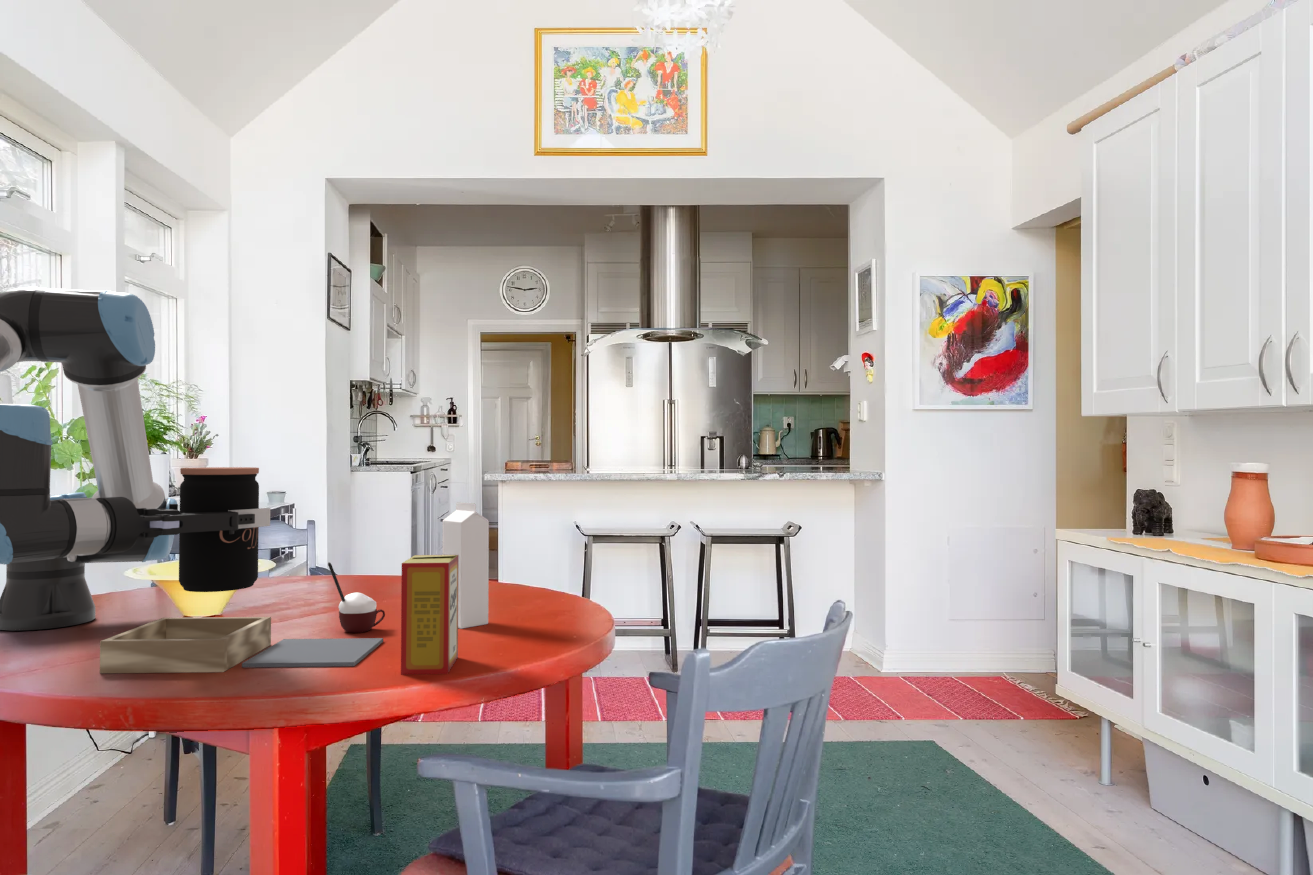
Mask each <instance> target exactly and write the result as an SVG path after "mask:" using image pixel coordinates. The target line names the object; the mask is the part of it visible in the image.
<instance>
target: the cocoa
mask: <svg viewBox="0 0 1313 875" xmlns="http://www.w3.org/2000/svg"><path fill="white" fill-rule="evenodd" d="M327 566H328V569H329V572H330V573H331V576H332V578H333V581H334V584H335V587H336V589H337V592H338V594H339V597H340V599H341V601H340V602H339V604H338V610H339V611H338V618H339V623H340V626H341V627H342V629H343V630H344V631H345V632H346V633H349V634H361V633H366V632H368V631H370V630H371V629H372V628H374V627H376V626H377V625H379V624H380V623H381V622H382V621H383V620H384V619H385V616H386V613H385V610H384V609H378V610H377V601H376V600H374V599H373V598H372V597H371V596H370V597H369V596H368V595H366V594H364V593H362V592H351V593H349V594H346V595H345V596H344V593H343V591H342V589H341V588H342V587H341V586H340V583H339V580H338V578H337V576H336V575H337V574H336V572H335V569H334V568H333V564H332V563H331V562H329V561H328V563H327ZM378 613H382V615H381V618H379V619H378V620H377V615H378Z"/></svg>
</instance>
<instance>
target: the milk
mask: <svg viewBox="0 0 1313 875" xmlns="http://www.w3.org/2000/svg"><path fill="white" fill-rule="evenodd" d="M455 504H456V505H455V511H452V513H451V514H448V516H446V517H445V518H443V519H442V554H441V555H459V562H458V629H467V628H473V627H477V626H483V625H484V626H485V625H488V624H489V573H490V572H489V567H490V566H489V562H490V560H489V555H490V553H489V552H490V548H489V546H490V545H489V544H490V543H489V542H490V534H489V532H490V526H489V525H490V522H489V519H488V518H486V517H485V516H483V515H482V514H480V513H479V512H478V511H477V510H476V508H477V505H476V503H473V502H461V501H457V502H456V503H455Z"/></svg>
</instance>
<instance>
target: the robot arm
mask: <svg viewBox="0 0 1313 875" xmlns="http://www.w3.org/2000/svg"><path fill="white" fill-rule="evenodd" d="M154 329H155V328H154V324H153V320H152V316H151V314H150V312H149V309H148V308H147V305H146V304H145V303H144V301H143V300H142V299H141V298H139V296H137V295H135V294H133V293H128V292H119V291H118V292H117V291H114V290H109V289H104V290H91V289H90V290H86V289H72V288H70V289H68V288H67V289H66V288H49V287H40V286H39V287H38V286H28V287H26V286H25V287H17V288H13V289H12V288H11V289H8V290H5V291H1V292H0V372H4V371H6V370H8V369H10V368H12V367H14V365H16V364H17V363H22V362H41V363H61V365H62V371H63V375H64V376H65V377H66V378H67V379H68V380H69V382H71V383H74V384H77V389H78V395H79V399H80V404H81V409H82V415H83V419H84V420H83V421H84V423H85V424H84V425H85V428H86V429H85V431H86V435H87V439H88V445H89V449H90V454H91V455H90V456H91V459H92V465H93V470H94V471H93V472H94V475H95V480H96V485H97V490H96V491H95V492H94V494H93V495H92V496H91V497H88V496H87V494H86V493H85V492H84V491H81V492H80V491H79V492H72V493H71V492H70V493H63V494H62V493H61V494H56V495H55V494H54V495H51V465H52V464H51V463H52V462H51V461H52V460H51V459H52V446H53V443H54V442H53V440H52V433H51V418H50V417H51V415H50V412H49V410H48V409H47V408H45V407H43V406H41V405H34V404H20V403H18V404H16V403H0V565H6V579H5V580H6V581H5V586H4V587H3V590H2V592H1V595H0V631H13V632H14V631H36V630H38V631H39V630H49V629H57V628H65V627H71V626H75V625H80V624H85V623H88V622H91V621H93V620H95V619H96V610H97V609H96V605H95V601H94V599H93V597H92V593H91V590H90V589H89V586H88V583H87V581H86V576H85V575H86V574H85V573H86V572H85V568H86V567H85V566H86V564H96V563H98V564H99V563H100V564H101V563H105V564H106V563H135V562H137V563H138V562H141V563H146V562H149V561H152V562H153V561H161V560H164V559H166V558H167V557H169V555H170V553H171V550H172V547H173V543H174V540H175V536H177V535H179V533H188V532H205V531H223V530H229V534H234V531H236V530H238V529H241V528H252V527H259V528H262V527H264V528H265V527H270V526H271V507H264V508H262V507H259V509H244V510H228V512H207V513H181V512H180V509H179V507H178V506H179V503H178V502H177V500H176V499H175V498H171V497H166V495H165V490H164V489H163V487H162V486H161V485H160V484H158V483H157V482H155V481H154V478H153V473H152V467H151V466H152V465H151V459H150V452H149V446H148V440H147V433H146V426H145V420H144V419H145V418H144V413H143V406H142V399H141V393H140V392H141V391H140V386H139V378H140V377H141V376H142V375H143V374H144V373H145V372H146V369H147V366H148V365H150V364H151V363H152V362H153V361H154V359H155V358H154V357H155V354H156V340H155V330H154Z"/></svg>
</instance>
